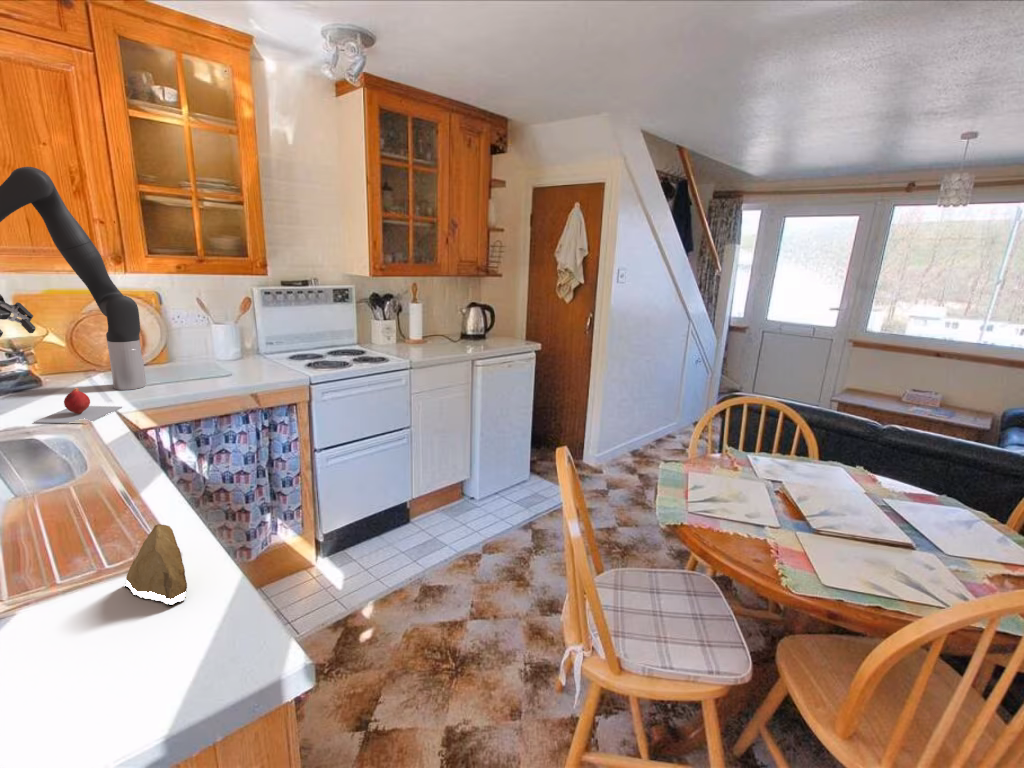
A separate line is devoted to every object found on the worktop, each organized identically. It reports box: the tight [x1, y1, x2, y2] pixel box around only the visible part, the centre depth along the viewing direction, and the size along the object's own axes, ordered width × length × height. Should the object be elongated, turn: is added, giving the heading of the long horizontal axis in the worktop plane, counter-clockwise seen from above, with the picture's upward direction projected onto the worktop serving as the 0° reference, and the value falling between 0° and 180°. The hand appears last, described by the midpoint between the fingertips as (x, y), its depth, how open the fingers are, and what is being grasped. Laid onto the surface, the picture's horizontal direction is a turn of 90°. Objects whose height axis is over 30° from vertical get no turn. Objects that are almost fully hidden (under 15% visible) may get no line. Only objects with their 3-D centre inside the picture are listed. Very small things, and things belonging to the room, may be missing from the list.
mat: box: [33, 405, 123, 423], centre depth 149 cm, size 16×14×1 cm
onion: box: [63, 387, 91, 414], centre depth 148 cm, size 6×6×8 cm
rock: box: [126, 523, 188, 599], centre depth 75 cm, size 11×9×10 cm
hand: (17, 333), depth 147 cm, fingers open, 8 cm apart
